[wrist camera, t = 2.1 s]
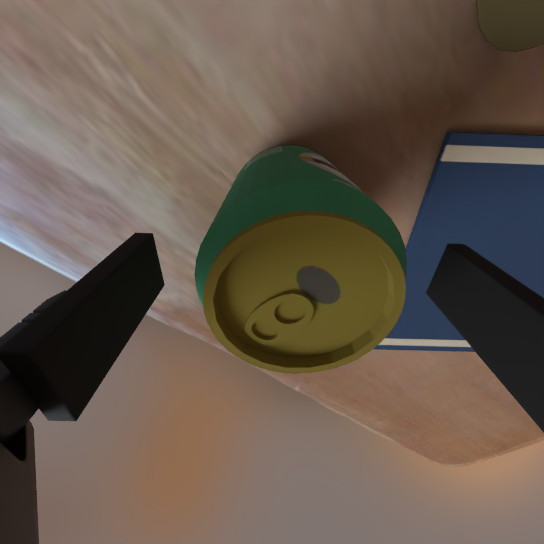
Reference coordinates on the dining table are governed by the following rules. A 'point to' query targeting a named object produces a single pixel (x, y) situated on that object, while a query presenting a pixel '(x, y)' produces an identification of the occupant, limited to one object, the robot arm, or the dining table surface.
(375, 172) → the dining table surface
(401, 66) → the dining table surface
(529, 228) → the towel
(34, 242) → the dining table surface
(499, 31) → the olive game pawn
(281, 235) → the beverage can
